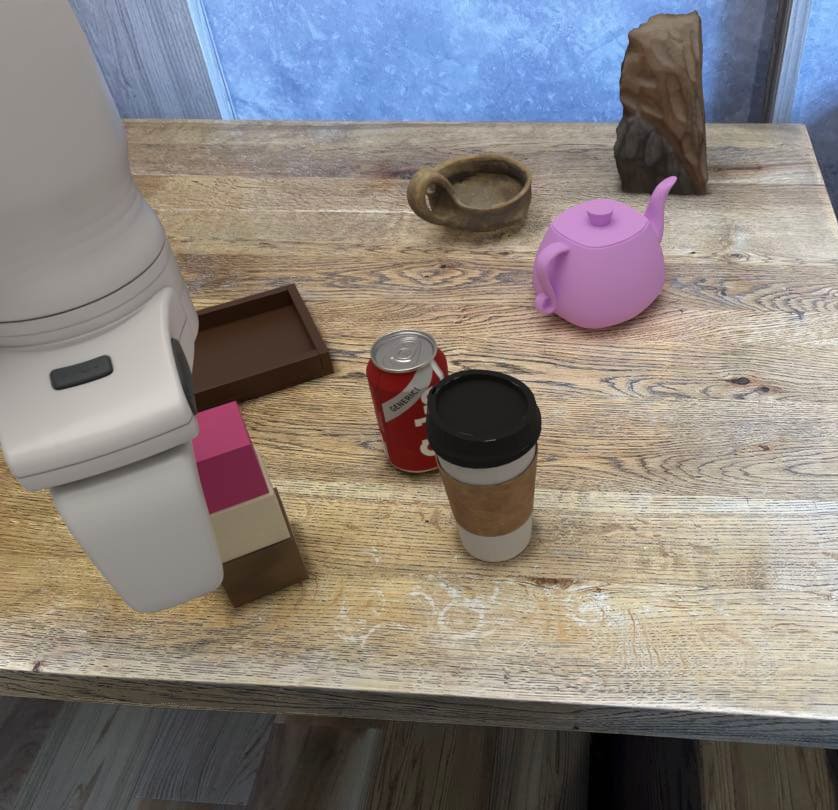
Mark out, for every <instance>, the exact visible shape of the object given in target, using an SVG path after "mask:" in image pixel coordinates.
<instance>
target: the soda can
mask: <svg viewBox="0 0 838 810" xmlns="http://www.w3.org/2000/svg"><path fill="white" fill-rule="evenodd" d="M448 366H449V365H448V360H447V356H446V355H445V353H444V351H443V350H442V349H441V348H440V347H438V343H437V340H436V339H435V338H434V336H433V335H431V334H430V333H429V332H426V331H424V330H421V329H415V328H401V329H396V330H392V331H390V332H387V333H385V334H383V335H382V336H380V337H379V338H377V339H376V340H375V341H374V342H373V344H372V345H371V347H370V350H369V360H368V362H367V364H366V369H365V374H366V378H367V383H368V387H369V392H370V396H371V400H372V404H373V408H374V413H375V417H376V418H375V419H376V422H377V426H378V430H379V435H380V439H381V444H382V448H383V451H384V452H383V453H384V456H385V458H386V460H387V461H388V463H389V464H390V465H391V466H393V467H394V468H395V469H398V470H400V471H403V472H407V473H415V474H416V473H417V474H419V473H426V472H427V473H428V472H432V471H434V470H437V469H439V468H438V465H437V462H436V457H435V452H434V451H433V449H432V448H431V447H430V445H429V442H428V440H427V433H426V427H425V423H426V416H427V399H428V394H429V391H430V389H431V388H432V387H433V386H434V385H436V384H437V383H438V382H439V381H441V380H442V379H443V378H445V377H447V376H449V375H450V373H449V372H450V371H449V367H448Z"/></svg>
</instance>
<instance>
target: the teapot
mask: <svg viewBox="0 0 838 810" xmlns="http://www.w3.org/2000/svg"><path fill="white" fill-rule="evenodd" d="M676 180H677V177H676V176H671V177H668V178H666V179H665V180H663V181H662V182H661V183H660V184H659V185H658V186H657V187H656V188H655V190H654V192H653V194H651V196H650V198H649V201H648V203H647V205H646V209H645V211H644V213H641V212H640V211H639V210H637V209H635V208H633V207H631V206H630V205H627V204H625V203H622V202H620V201H617V200H614V199H610V198H598V199H597V198H596V199H593V200H588V201H584V202H582V203H578V204H575V205H573V206H571V207H569V208H568V209H566V210H564V211H562V212H561V213H560V214H558V215H557V216H556V217H555V218H554V219H553V220H552V221H551V223H550V224H549V226H548V227H547V229H546V231H545V234H544V235H543V238H542V239H541V242H540V244H539V246H538V247H537V251H536V253H535V257H534V261H533V265H532V266H533V268H532V275H531V284H532V288H533V290H534V292H535V295H536V297H535V298H534V301H533V307H534V309H535V311H536V312H537V313H538V314H540V315H550V314H553V313H554V314H555V315H557V316H558V317H559V318H562V319H563V320H565V321H567V322H569V323H571V324H572V325H574V326H577V327H580V328H585V329H590V330H592V329H604V328H609V327H613V326H617V325H618V324H622V323H624V322H627V321H629V320H631V319H633V318H635V317H637V316H638V315H639V314H641V313H642V312H644V311H645V310H646V309H647V308H648V307H649V306H650V305H652V303H653V302H654V301H655V300H656V299H657V297H658V296H659V295H660V294H661V292H662V290H663V289H664V286H665V284H666V263H665V257H664V256H665V255H664V253H663V248H662V246H661V243H662V240H663V238H664V230H665V209H666V201H667V198H668V195H669V194H668V193H669V191H670V189H671V188H672V186H673V185H674V184H675V182H676Z"/></svg>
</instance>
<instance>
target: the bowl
mask: <svg viewBox="0 0 838 810" xmlns="http://www.w3.org/2000/svg"><path fill="white" fill-rule="evenodd" d="M532 182H533V175H532V173H531V170H530V169H529V168H528V167H527V166H526V165H525V164H523V163H522V162H521V161H519V160H517V159H515V158H514V157H512V156H509V155H506V154H503V153H496V152H495V153H494V152H485V153H484V152H483V153H479V154H467V155H457V156H455V157H452V158H449V159H447V160H445V161H442V162H441V163H438V165H436V166H435V167H434V168H432V169H431V168H428V167H425V168H422V169H419V170H418V171H416V172H415V173H414V174H413V175H412V177H411V178H410V180H409V181H408V185H407V188H406V200H407V203H408V205H409V207H410V209H411V211H412V212H413V213H414V214H415V215H416V216H417V217H418V218H420V219H421V220H423V221H425V222H427V223H429V224H431V225H432V224H433V225H435V226H440V227H445V228H447V229H453V230H458V231H463V232H468V233H477V234H479V233H482V234H483V233H491V232H492V233H496V232H497V231H499V230H502V229H506V228H509V227H511V226H513V225H514V226H515V225H516V224H519V223H520V222H522V221H523V220H524V219H525V217H526V215H527V213H528V212H529V209H530V206H531V202H532V197H533V192H532V191H533V190H532ZM426 197H427V199H428V204H429V206H428V204H427V199H426Z"/></svg>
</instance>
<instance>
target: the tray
mask: <svg viewBox="0 0 838 810" xmlns="http://www.w3.org/2000/svg"><path fill="white" fill-rule="evenodd" d="M298 289H299V288H298V287H297V285H296V283H294V282H293V283H290V284H286V285H282V286H279V287H275V288H272V289H268V290H264V291H261V292H257V293H254V294H250V295H247V296H244V297H240V298H236V299H233V300H229V301H225V302H222V303H218V304H215V305H211V306H208V307H205V308H201V309H198V310H196V313H197V315H198V320H199V329H198V334H197V337H196V339H195V342H194V360H193V368H192V378H193V389H194V397H195V402H196V408H197V413H199V412H202V411H206V410H209V409H212V408H215V407H218V406H221V405H224V404H227V403H230V402H234V401H236V402H237V404H241V403H243V402H246V401H251V400H253V399H256V398H259V397H262V396H266V395H269V394H271V393H274V392H278V391H281V390H284V389H287V388H290V387H293V386H297V385H300V384H302V383H306V382H309V381H312V380H314V379H318V378H321V377H324V376H327V375H330V374H333V373H335V369H334V366H333V361H332V357H331V354H330V351H329V349H328V347H327V345H326V343H325V341H324V339H323V336H322V335H321V333H320V331H319V329H318V327H317V325H316V323H315V321H314V319H313V317H312V315H311V313H310V311H309V309H308V308H307V305H306V303H305V301H304V299H303V297H302V295H301V293H300V291H299V290H298Z"/></svg>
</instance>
